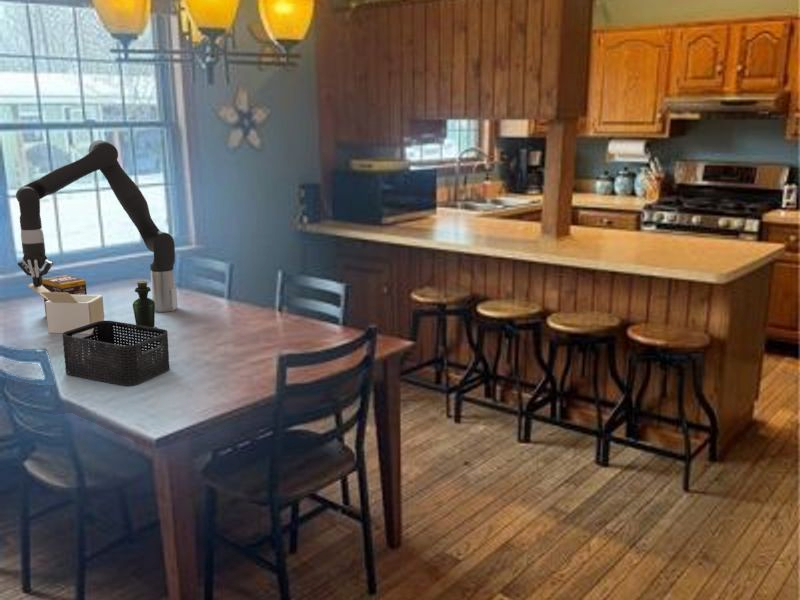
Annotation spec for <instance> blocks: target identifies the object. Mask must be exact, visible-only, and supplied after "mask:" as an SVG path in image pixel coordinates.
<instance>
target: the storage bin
mask: <svg viewBox="0 0 800 600" xmlns="http://www.w3.org/2000/svg"><path fill="white" fill-rule="evenodd" d="M96 327H97V328H96ZM93 328H94V329H93ZM90 329H93V333H91V334H88V335H87V336H84V337H77V336H75V335H77V333H81V332H84V331H87V330H90ZM61 335H62V345H63V357H64V366H65V368H64V369H65V373H66V375H70V376H74V377H79V378H83V379H89V380H93V381H97V382H102V383H108V384H112V385H118V386H121V385H122V386H125V387H132V386H137V385H140V384H142V383H144V381H145V382H147V381H149V380H151V379H153V378H155V377H157V376H160V375H163V374H164V373H167V372H168V371H169V370H170V357H169V354H170V352H169V340H168V336H169V335H168V330H167V329H162V328H157V327H153V328H152V327H146V326H140V325H136V324H133V323H127V322H122V321H121V322H120V321H114V320H104V321H98V322H95V323H92V324H89V325H85V326H82V327H79V328H76V329H73V330H69V331H66V332H64V333H61Z"/></svg>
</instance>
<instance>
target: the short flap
mask: <svg viewBox="0 0 800 600" xmlns="http://www.w3.org/2000/svg"><path fill="white" fill-rule="evenodd" d="M27 287H29V288H30V289H32V290H33V291H34V292H35V293H37V294H38V295H40V296H41V297H42V298H43V299H44V298H45V299H46V300H48V298H47V297H45V296H44V295H43V294H42V293H41V292H50V291H49V290H47V289H46V288H45V287H43V284H42V285H41V286H40V287H35V285H33V282H31V283H29V284H27Z"/></svg>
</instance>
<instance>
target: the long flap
mask: <svg viewBox="0 0 800 600" xmlns="http://www.w3.org/2000/svg"><path fill="white" fill-rule="evenodd" d="M41 293H42V294H43V295H44V296H45V297H47V298H48V299H49V300H50V301H51V302H52V303H78V301H77V300H75V299H74V298H73V297H72V296H71V295H70V294H69V293H68V292H41Z"/></svg>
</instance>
